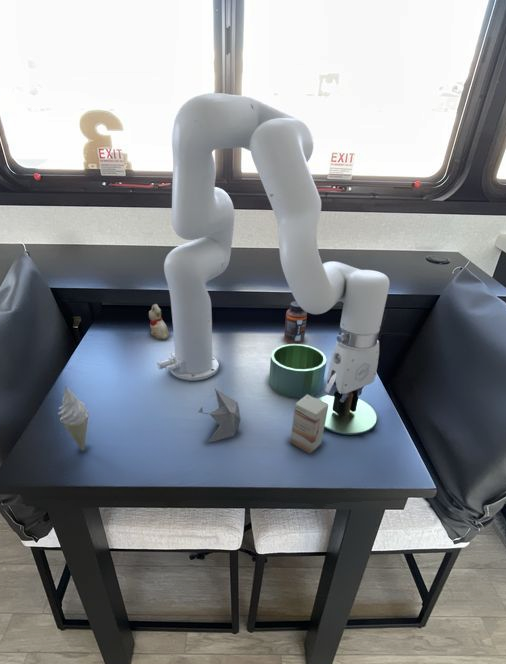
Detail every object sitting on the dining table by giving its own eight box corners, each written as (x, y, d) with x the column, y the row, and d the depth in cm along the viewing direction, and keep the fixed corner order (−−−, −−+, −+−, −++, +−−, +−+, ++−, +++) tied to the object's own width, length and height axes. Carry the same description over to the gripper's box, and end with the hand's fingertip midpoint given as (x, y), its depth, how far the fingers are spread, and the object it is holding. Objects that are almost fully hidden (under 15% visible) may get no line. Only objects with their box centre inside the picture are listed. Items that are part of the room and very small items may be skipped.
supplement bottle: (303, 345, 120) (307, 308, 114) (282, 343, 121) (285, 306, 115) (304, 336, 125) (308, 300, 119) (285, 334, 126) (288, 299, 120)
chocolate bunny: (169, 328, 128) (166, 297, 123) (168, 340, 122) (166, 308, 116) (150, 329, 128) (147, 298, 122) (149, 340, 121) (146, 308, 116)
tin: (291, 404, 96) (294, 376, 92) (258, 377, 105) (260, 351, 101) (333, 388, 102) (338, 361, 98) (299, 364, 111) (302, 339, 107)
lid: (341, 445, 84) (346, 421, 81) (297, 409, 94) (300, 387, 91) (389, 423, 90) (396, 400, 87) (343, 391, 101) (347, 370, 97)
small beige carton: (289, 442, 84) (293, 402, 79) (301, 432, 87) (306, 393, 82) (310, 455, 81) (316, 414, 76) (322, 444, 84) (329, 403, 79)
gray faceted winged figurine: (242, 442, 82) (197, 435, 80) (233, 450, 88) (191, 444, 86) (247, 388, 87) (204, 379, 85) (238, 398, 93) (198, 391, 91)
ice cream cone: (72, 442, 83) (56, 378, 75) (98, 441, 84) (84, 378, 76) (66, 459, 79) (47, 394, 71) (93, 458, 79) (78, 393, 71)
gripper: (341, 353, 75) (327, 432, 85) (401, 333, 83) (382, 408, 92) (314, 337, 80) (304, 413, 90) (372, 320, 88) (357, 392, 98)
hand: (343, 410), depth 91 cm, fingers closed on lid, 2 cm apart
